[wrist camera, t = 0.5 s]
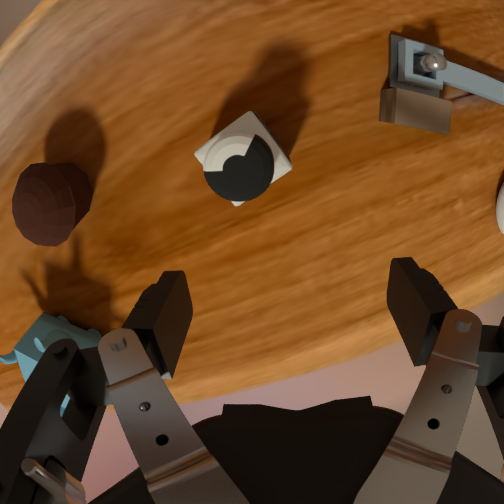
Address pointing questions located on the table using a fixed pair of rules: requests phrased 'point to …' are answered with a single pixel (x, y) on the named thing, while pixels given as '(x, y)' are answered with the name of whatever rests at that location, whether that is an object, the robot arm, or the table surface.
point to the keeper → (415, 110)
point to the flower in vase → (500, 209)
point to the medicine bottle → (243, 159)
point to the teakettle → (48, 343)
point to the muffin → (50, 202)
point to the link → (446, 74)
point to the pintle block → (414, 67)
